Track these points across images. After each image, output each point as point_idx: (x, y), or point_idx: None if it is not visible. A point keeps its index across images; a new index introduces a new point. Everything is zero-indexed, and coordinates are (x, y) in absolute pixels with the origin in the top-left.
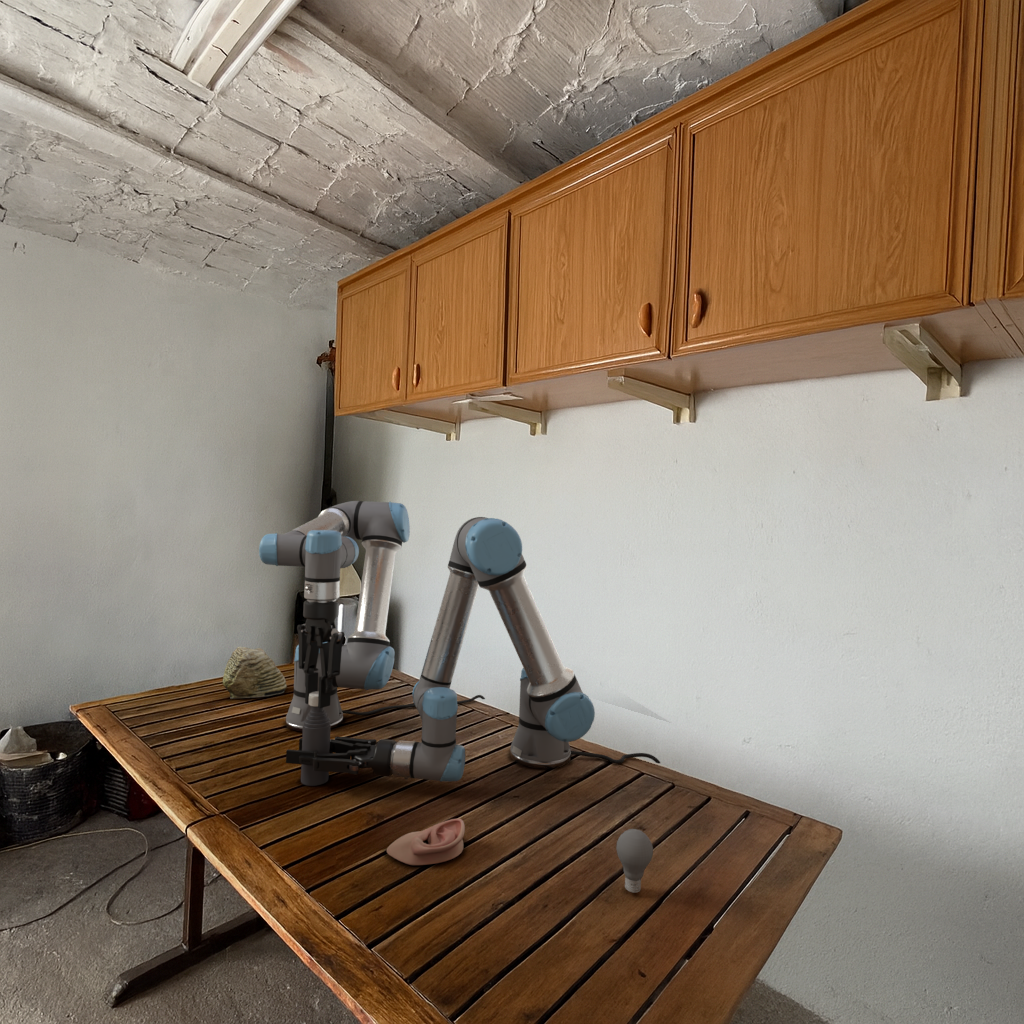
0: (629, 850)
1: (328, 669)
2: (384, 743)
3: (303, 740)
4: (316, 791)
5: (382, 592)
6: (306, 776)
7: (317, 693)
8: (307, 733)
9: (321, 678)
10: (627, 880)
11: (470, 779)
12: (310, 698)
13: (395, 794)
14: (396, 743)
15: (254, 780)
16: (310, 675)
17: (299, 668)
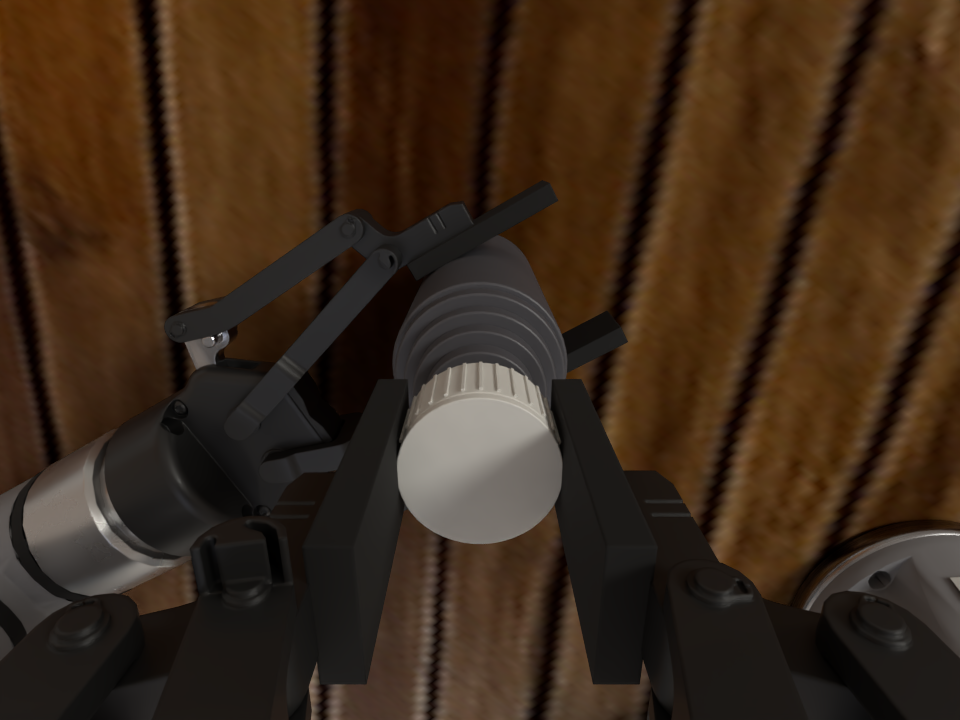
0: None
1: (44, 711)
2: (143, 494)
3: (499, 266)
4: (392, 227)
5: None
6: None
7: (491, 478)
8: (462, 275)
9: (232, 528)
10: None
11: None
12: (485, 385)
13: (167, 395)
14: (106, 527)
15: (676, 120)
16: (599, 568)
17: (870, 595)
